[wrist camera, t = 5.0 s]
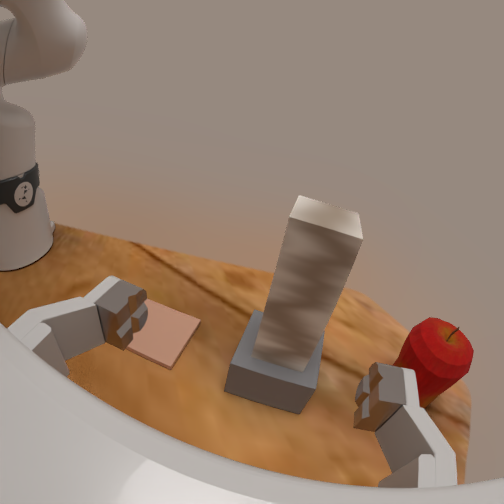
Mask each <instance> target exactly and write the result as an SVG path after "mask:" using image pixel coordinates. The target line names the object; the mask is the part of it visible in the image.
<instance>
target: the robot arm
mask: <svg viewBox="0 0 504 504" xmlns="http://www.w3.org/2000/svg"><path fill="white" fill-rule="evenodd" d="M0 6H1V7H4V8H7V9H8V10H10V11H11V12H12V13H13V15H14V16H15V18H13V19H8V20H3V21H0V270H13V269H18V268H21V267H24V266H26V265H29V264H31V263H33V262H35V261H36V260H38V259H39V258H41V257H42V256H43V255H44V254H45V253H46V252H47V251H48V250H49V249H50V247H51V246H52V243H53V236H52V233H53V231H54V229H55V224H54V222H53V221H50V218H49V214H48V209H47V204H46V199H45V194H44V191H43V190H42V189H41V188H39V187H38V186H39V170H38V164H37V163H36V160H35V122H34V118H33V116H32V115H31V113H30V112H29V111H27V110H26V109H24V108H22V107H20V106H17V105H14V104H11V103H9V102H6V101H5V100H4V98H3V95H2V87H3V86H5V85H7V84H12V83H17V82H23V81H29V80H36V79H43V78H46V77H49V76H53V75H56V74H60V73H63V72H66V71H69V70H70V69H72V68H73V66H74V65H75V64H76V63H77V62H78V61H79V59H80V58H81V56H82V54H83V52H84V50H85V47H86V43H87V29H86V25H85V23H84V21H83V20H82V18H81V17H80V16H78V15H77V14H76V13H74V12H73V11H72V10H71V9H70V8H69V7H68V5H67V4H66V2H65V0H0ZM146 299H147V294H146V291H145V290H144V289H142V288H140V287H137V286H135V285H133V284H130V283H128V282H126V281H124V280H121V279H119V278H117V277H114V276H108V277H107V278H106V279H105V280H103V281H102V282H101V283H100V284H99V285H98V286H96V287H95V288H94V289H93V290H92V291H90V292H89V293H88V294H87V295H86V296H85V297H84V298H82V297H76V298H73V299H69V300H65V301H61V302H57V303H53V304H49V305H45V306H42V307H38V308H34V309H30V310H28V311H27V312H25V313H24V314H23V315H22V316H21V317H20V318H18V319H17V320H16V321H15V322H14V323H13V324H12V325H10V326H9V327H8V328H5V327H4V326H3V325H2V324H1V323H0V504H504V477H503V478H498V479H493V480H488V481H482V482H476V483H469V484H461V485H457V470H456V456H455V453H454V451H453V450H452V448H451V447H450V445H449V444H448V442H447V441H446V439H445V438H444V437H443V435H442V434H441V432H440V431H439V429H438V428H437V427H436V425H435V424H434V422H433V421H432V419H431V418H430V417H429V415H428V414H427V412H426V411H425V410H424V408H421V407H420V405H419V396H418V389H417V382H416V375H415V371H414V370H412V369H407V368H402V367H401V368H400V367H396V366H391V365H387V364H382V363H377V362H375V363H374V364H372V366H371V367H370V368H369V375H367V376H365V377H363V379H362V380H361V382H360V383H359V386H358V388H357V391H356V397H355V402H356V404H357V406H358V409H357V410H356V411H355V412H354V425H353V428H356V429H361V430H366V431H372V432H375V435H376V438H377V440H378V442H379V444H380V446H381V449H382V451H383V453H384V455H385V458H386V460H387V462H388V464H389V467H390V469H391V471H392V474H391V475H389V476H387V477H386V478H384V479H382V480H381V481H380V482H379V484H378V487H366V486H355V485H345V484H337V483H330V482H323V481H317V480H311V479H305V478H300V477H295V476H290V475H286V474H281V473H277V472H273V471H269V470H265V469H261V468H258V467H254V466H251V465H247V464H244V463H240V462H237V461H234V460H231V459H228V458H225V457H222V456H219V455H216V454H213V453H211V452H208V451H205V450H203V449H200V448H197V447H195V446H192V445H190V444H187V443H185V442H183V441H180V440H178V439H176V438H173V437H171V436H169V435H167V434H164V433H162V432H160V431H158V430H156V429H154V428H152V427H150V426H148V425H146V424H144V423H142V422H140V421H138V420H136V419H134V418H132V417H130V416H128V415H126V414H125V413H123V412H121V411H119V410H117V409H116V408H114V407H112V406H110V405H109V404H107V403H105V402H104V401H102V400H100V399H99V398H97V397H96V396H94V395H92V394H91V393H89V392H88V391H86V390H85V389H83V388H81V387H80V386H78V385H77V384H76V383H74V382H73V381H71V380H70V379H68V378H67V376H68V375H69V369H68V367H67V365H66V362H65V360H68V359H70V358H72V357H74V356H77V355H79V354H81V353H84V352H86V351H88V350H90V349H93V348H95V347H97V346H99V345H102V344H104V343H105V342H107V343H109V344H111V345H113V346H115V347H117V348H119V349H121V350H123V351H124V350H125V349H126V347H127V346H128V345H129V344H130V343H131V341H132V340H133V333H136V332H139V331H140V330H141V329H142V328H143V327H144V325H145V323H146V321H147V317H148V308H147V306H146V305H145V303H144V301H145V300H146Z"/></svg>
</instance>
